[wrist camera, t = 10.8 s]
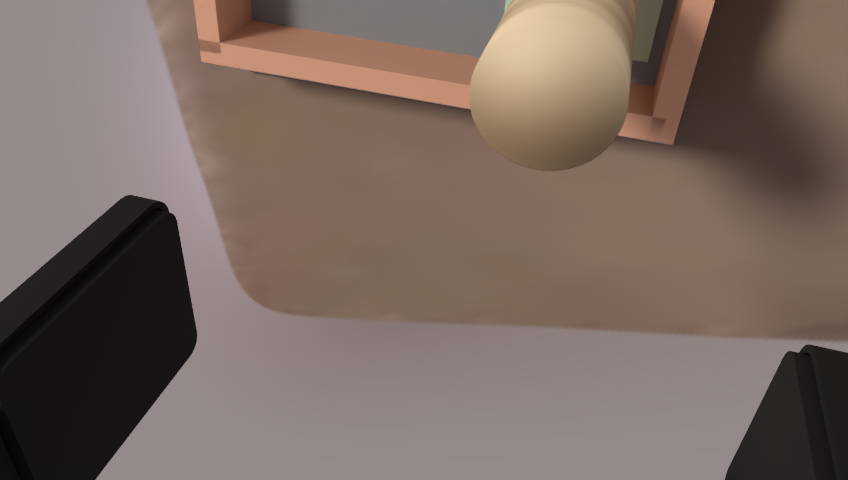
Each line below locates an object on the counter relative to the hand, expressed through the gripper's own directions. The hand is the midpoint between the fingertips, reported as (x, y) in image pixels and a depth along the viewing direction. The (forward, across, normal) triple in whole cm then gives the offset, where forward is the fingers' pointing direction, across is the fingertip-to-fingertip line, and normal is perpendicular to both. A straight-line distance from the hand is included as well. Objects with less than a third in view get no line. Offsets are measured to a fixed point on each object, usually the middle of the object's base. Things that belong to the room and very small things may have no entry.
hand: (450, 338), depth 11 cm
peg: (+21, 0, 0) cm, 21 cm away
